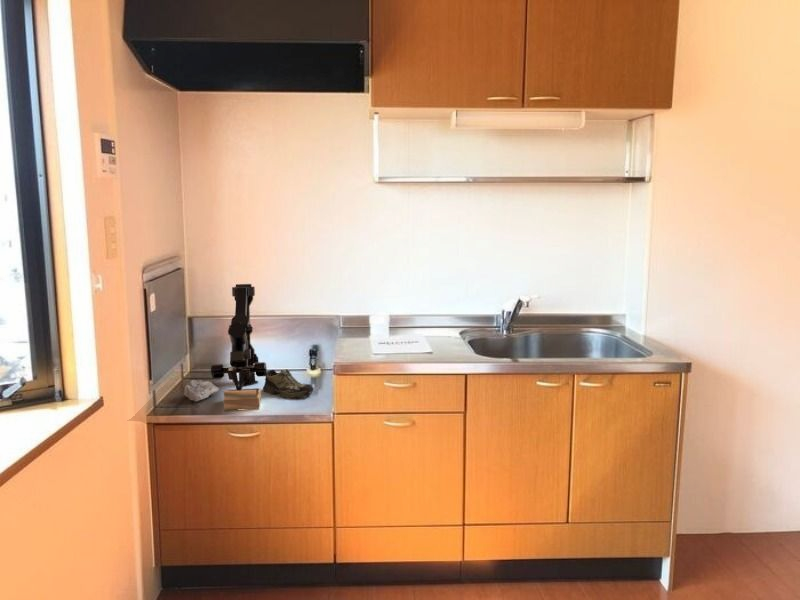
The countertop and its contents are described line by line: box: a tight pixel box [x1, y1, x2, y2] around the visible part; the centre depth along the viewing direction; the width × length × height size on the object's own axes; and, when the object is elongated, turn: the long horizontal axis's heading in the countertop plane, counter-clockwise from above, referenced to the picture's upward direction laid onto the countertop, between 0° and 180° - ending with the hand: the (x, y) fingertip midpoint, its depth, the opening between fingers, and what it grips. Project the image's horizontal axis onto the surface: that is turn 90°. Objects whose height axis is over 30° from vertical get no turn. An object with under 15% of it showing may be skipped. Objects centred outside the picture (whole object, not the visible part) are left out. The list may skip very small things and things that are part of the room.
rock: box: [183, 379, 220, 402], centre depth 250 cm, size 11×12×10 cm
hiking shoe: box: [262, 368, 314, 400], centre depth 253 cm, size 8×21×9 cm, turn 65°
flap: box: [223, 390, 257, 400], centre depth 233 cm, size 6×11×1 cm
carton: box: [223, 387, 262, 411], centre depth 242 cm, size 12×12×4 cm
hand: (238, 392), depth 231 cm, fingers closed
